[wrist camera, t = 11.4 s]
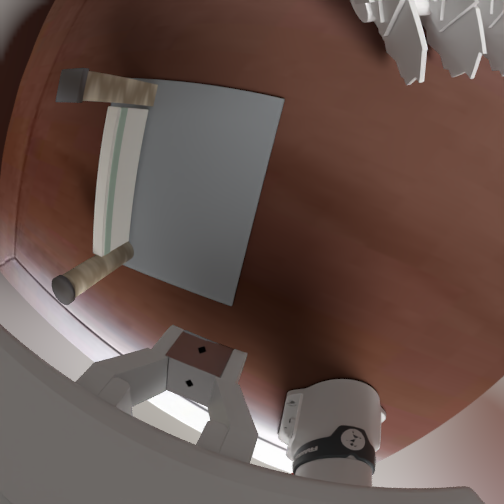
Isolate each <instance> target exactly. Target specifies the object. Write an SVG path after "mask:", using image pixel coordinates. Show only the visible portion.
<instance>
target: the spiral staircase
mask: <svg viewBox="0 0 504 504" xmlns="http://www.w3.org/2000/svg"><path fill="white" fill-rule="evenodd" d="M350 2H351V4H352V7H353V9H354V11H355V13H356V14H357V16H358V17H359V19H360V20H361V21H362V22H364V23H366V22H372V21H374V23H375V24H376V26H377V27H378V30H379V34H380V35H381V36H382V38H383V40H384V41H385V47H386V52H387V53H388V54H389V55H390V56H391V57H392V58H393V59H394V60H395V61H396V63H397V66H398V69H399V72H400V75H401V77H403V78H404V81H405V83H406V85H410V84H412V83H413V82H414V81H415V80H416V79H417V80H418V82H419V83H421V82H424V77H425V67H426V56H427V50H428V47H427V43H428V44H429V45H430V46H431V47H432V48H433V49H434V50H435V51H437V52H438V53H439V54H440V56H441V60H442V64H443V68H444V69H448V70H449V72H450V74H451V77H456V76H459V75H461V74H463V73H467V75H468V76H469V78H470V79H473V78H474V77H475V74H476V71H477V68H478V65H479V62H480V59H481V56H482V55H483V56H484V57H486V58H487V59H489V63H490V66H491V69H492V71H498V70H499V71H500V73H501V75H502V76H504V0H350ZM421 23H422V24H421ZM422 25H423V26H424V28H425V29H426V32H427V43H426V39H425V35H424V31H423V27H422Z"/></svg>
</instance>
